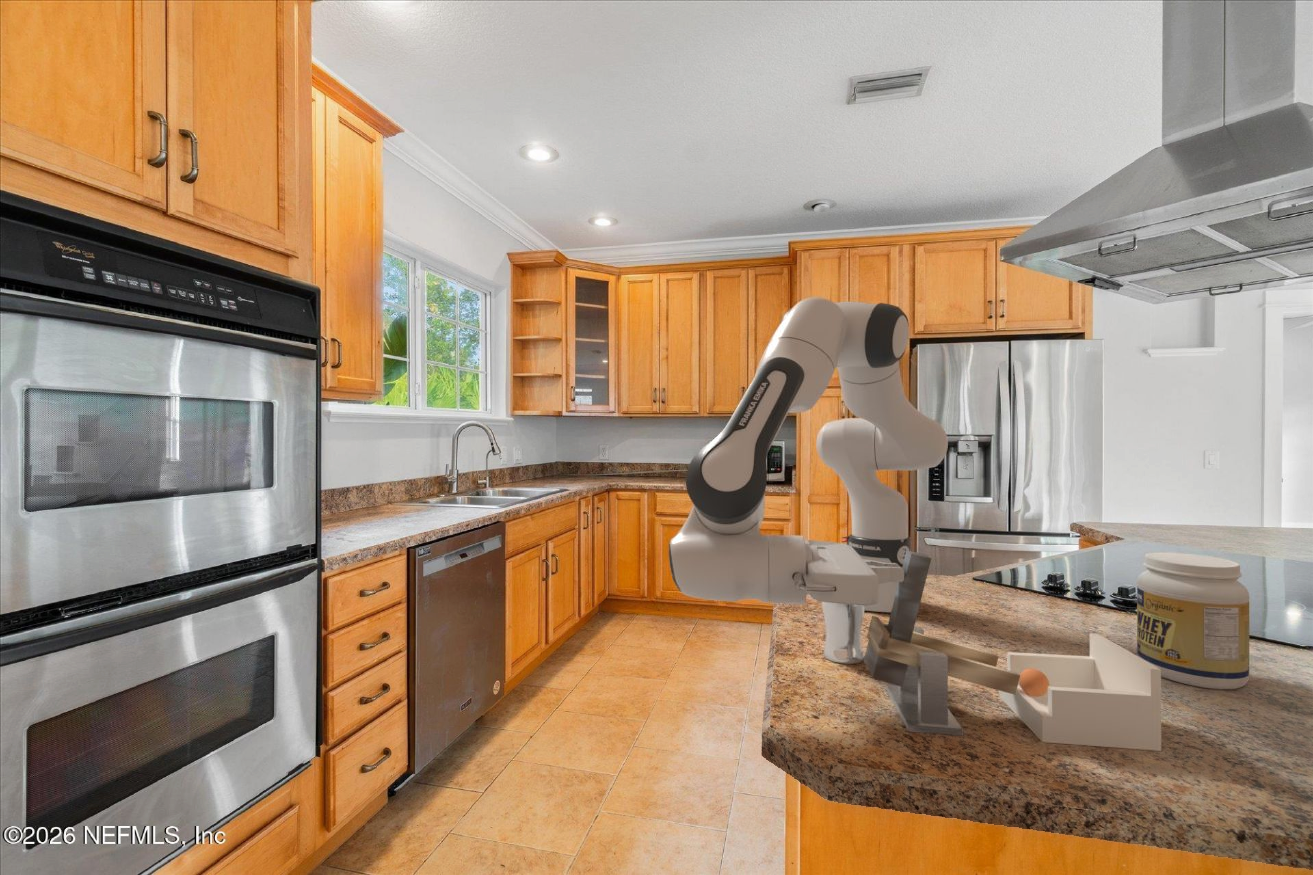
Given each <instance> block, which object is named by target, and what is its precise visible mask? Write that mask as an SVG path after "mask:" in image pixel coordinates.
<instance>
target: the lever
mask: <svg viewBox="0 0 1313 875" xmlns="http://www.w3.org/2000/svg"><path fill="white" fill-rule="evenodd" d="M931 561H932V558H931V557H930V556H928V555H926V554H924V553H919V552H916V551H912V550H911V551H908V550H907V551H906V555H905V559H904V563H903V567H902V568H903V570H904V581H903V582H899V583H898V587H897V591H896V595H895V599H894V603H893V607H892V611H891V612H890V616H889V619H888V623H883V622H882V621H881V619H880V618H879V616H875V615H871V618H870V623H869V627H868V631H867V636H866V638H867V641H868V642H867V645H866V649H865V653H864V654H865V655H864V659H863V661H864V664H865V666H866V668H867V670H868V672H869V674H870V676H871V678H872V679H874V680H876V681H881V682H884V683H886V684H890V685H898V686H901V687H903V683H904V679H905V675H906V671H907V667H908V665H911V666H915V667H918V652H936V653H945V654H946V655H947V657H948V677H951V678H953V679H958V680H961V681H964V682H968V683H972V684H976V685H979V686H982V687H986V688H989V689H993V690H997V691H999V690H1000V691H1003V692H1007V693H1010V694H1014V695H1015V694H1016V690H1017V686H1018V682H1019V678H1020V675H1019V674H1018V673H1016V672H1013V671H1009V670H1007V669H1004V668H1002V667H1001V668H1000V667H997V665H998V664H997V663H998V660H999V655H998V654H996V653H994V652H990V651H986V650H984V649H983V650H982V649H980V648H979V649H978V648H975V647H973V646H972V647H971V646H968V645H964V644H960V643H957V642H953V641H949V640H946V639H942V638H938V637H936V636H931V635H929V634H928V635H927V634H921V633H917V632H913V630H914V627H916V621H917V617H918V613H919V609H920V605H921V601H922V596H923V592H924V590H925V586H926V581H927V577H928V572H929V569H930V565H931Z"/></svg>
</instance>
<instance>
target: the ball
mask: <svg viewBox="0 0 1313 875" xmlns="http://www.w3.org/2000/svg"><path fill="white" fill-rule="evenodd" d="M1019 684H1020V686H1021V688H1022V689H1023V690H1024V691H1025V692H1026V693H1027V694H1029V695H1031V696H1035V697H1040V696H1043V695H1045V694H1046V693H1047V692H1048V686H1050V684H1049V680H1048V678H1047V677H1046V676H1045V674H1043V673H1042V672H1041V671H1039V670H1036V669H1026V670H1024V671H1022V672H1021V674H1020V678H1019Z"/></svg>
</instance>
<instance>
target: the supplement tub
mask: <svg viewBox="0 0 1313 875" xmlns="http://www.w3.org/2000/svg"><path fill="white" fill-rule="evenodd" d="M1143 566H1144V567H1145V568H1146V570H1145V571H1142V572H1141V573H1140V574H1139V575H1138V577H1137V580H1136V585H1137V587H1136V590H1137V591H1136V600H1137V602H1136V604H1137V605H1136V616H1137V617H1136V618H1137V619H1136V626H1137V627H1136V651H1137V652H1136V656H1138V657H1140V658H1142V659H1143V660H1145V661H1147V662H1149V663H1150V664H1152V665H1154V666H1156V667H1157V668H1159V669H1161V678H1164V679H1166V680H1170V681H1173V682H1176V683H1180V684H1184V685H1189V686H1193V687H1198V688H1206V689H1213V690H1234V689H1240V688H1241V687H1244V686H1245V685H1246V684H1247V683H1248V681H1249V679H1250V600H1251V599H1250V592H1249V591H1248V588H1247V587H1246V586H1245V585H1244V584H1243V583H1241V582H1240V581H1238V580H1239V578H1241V577H1242V573H1241V564H1240V563H1238V562H1236V561H1233V560H1230V559H1225V558H1220V557H1216V556H1210V555H1209V556H1208V555H1201V554H1200V555H1199V554H1195V553H1194V554H1193V553H1184V552H1160V551H1159V552H1149V553H1146V554H1145V555H1144V562H1143Z"/></svg>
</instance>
